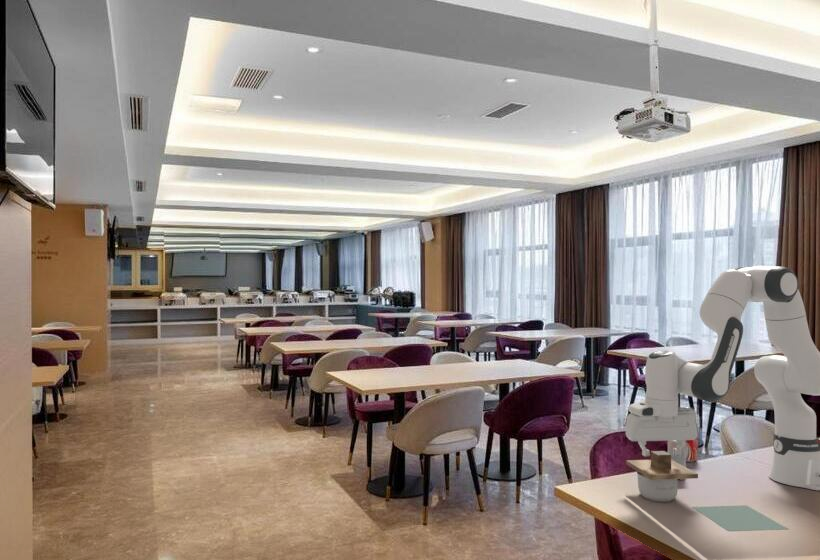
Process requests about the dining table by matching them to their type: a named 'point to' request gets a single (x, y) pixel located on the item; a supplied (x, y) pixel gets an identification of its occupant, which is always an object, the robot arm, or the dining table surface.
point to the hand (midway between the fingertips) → (661, 455)
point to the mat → (739, 518)
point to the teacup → (657, 488)
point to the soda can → (692, 449)
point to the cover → (661, 467)
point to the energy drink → (678, 459)
